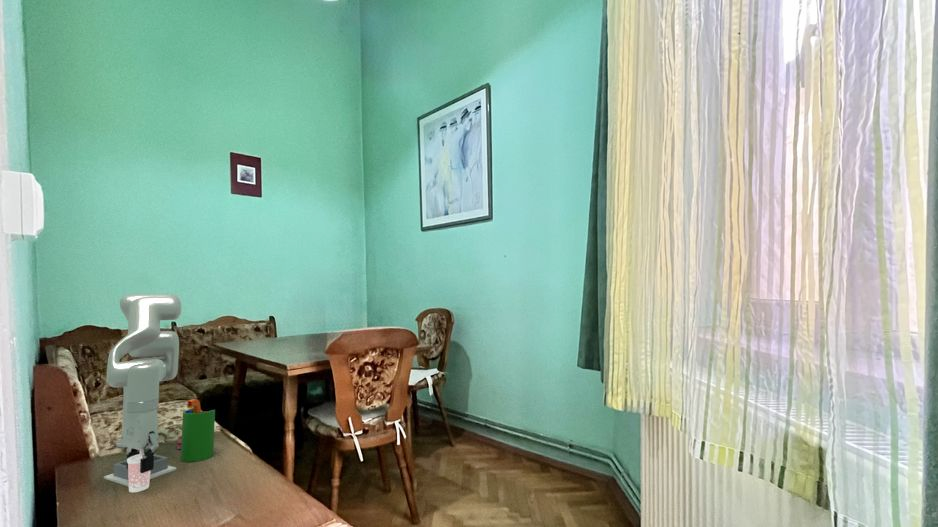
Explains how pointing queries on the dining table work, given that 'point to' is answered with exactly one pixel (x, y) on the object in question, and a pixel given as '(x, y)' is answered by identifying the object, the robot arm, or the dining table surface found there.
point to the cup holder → (159, 469)
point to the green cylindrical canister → (197, 433)
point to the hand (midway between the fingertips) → (139, 468)
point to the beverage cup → (137, 474)
